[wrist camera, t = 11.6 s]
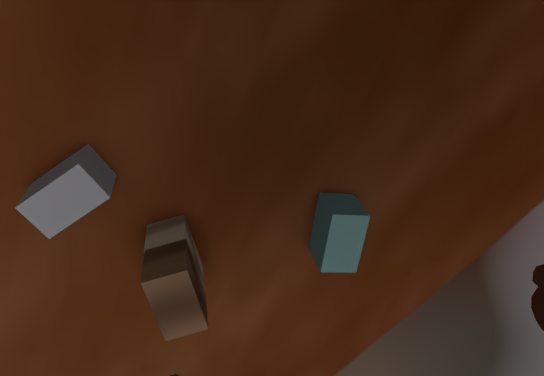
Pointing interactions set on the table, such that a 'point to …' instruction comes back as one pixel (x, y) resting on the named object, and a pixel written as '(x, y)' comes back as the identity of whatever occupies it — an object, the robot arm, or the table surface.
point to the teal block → (338, 232)
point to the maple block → (173, 237)
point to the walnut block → (174, 290)
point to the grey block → (67, 192)
